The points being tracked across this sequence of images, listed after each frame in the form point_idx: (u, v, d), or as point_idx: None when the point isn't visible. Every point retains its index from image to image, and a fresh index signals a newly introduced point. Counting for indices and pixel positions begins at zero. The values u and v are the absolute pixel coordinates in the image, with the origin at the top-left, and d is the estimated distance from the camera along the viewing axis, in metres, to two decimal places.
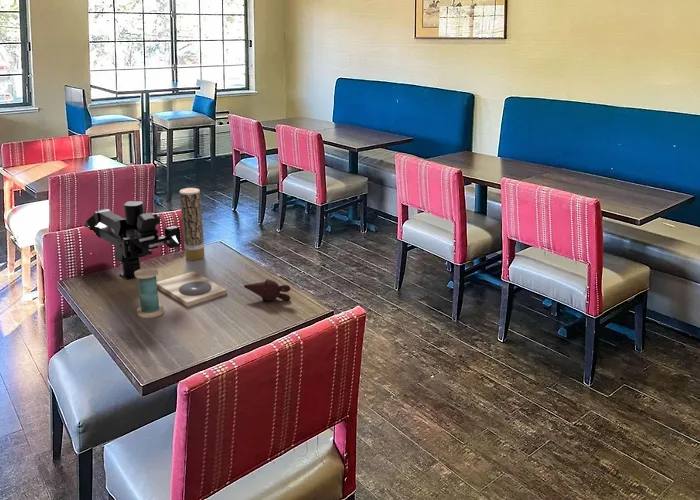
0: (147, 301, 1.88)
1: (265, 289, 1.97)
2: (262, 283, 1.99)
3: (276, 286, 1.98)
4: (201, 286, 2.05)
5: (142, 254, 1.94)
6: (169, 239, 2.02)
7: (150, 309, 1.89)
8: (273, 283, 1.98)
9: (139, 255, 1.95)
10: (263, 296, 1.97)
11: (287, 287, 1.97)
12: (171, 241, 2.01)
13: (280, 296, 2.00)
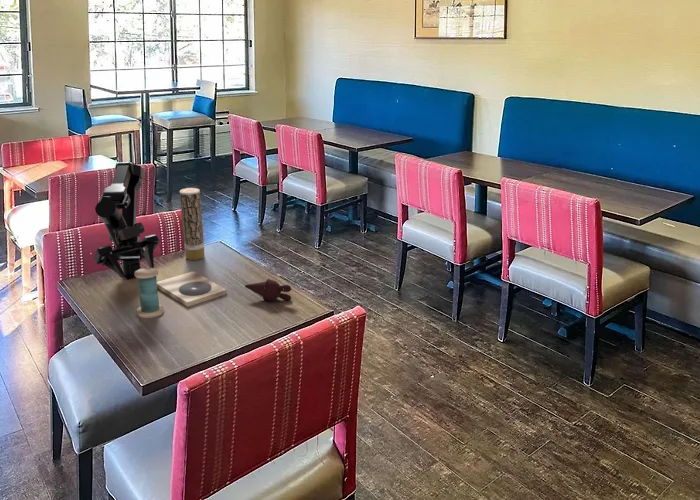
0: (147, 301, 1.88)
1: (266, 289, 1.97)
2: (263, 283, 1.99)
3: (277, 286, 1.98)
4: (201, 286, 2.05)
5: (114, 270, 1.89)
6: (145, 250, 1.96)
7: (150, 309, 1.89)
8: (274, 283, 1.98)
9: (110, 267, 1.89)
10: (264, 296, 1.97)
11: (288, 287, 1.97)
12: (146, 254, 1.95)
13: (281, 296, 2.00)
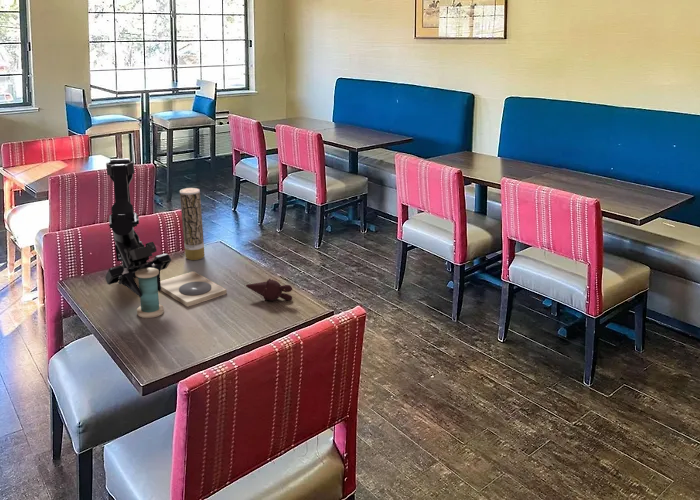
0: (147, 300, 1.88)
1: (267, 289, 1.97)
2: (264, 283, 1.99)
3: (278, 286, 1.98)
4: (201, 286, 2.05)
5: (131, 289, 1.87)
6: None
7: (150, 309, 1.89)
8: (275, 283, 1.98)
9: (127, 286, 1.88)
10: (265, 296, 1.97)
11: (289, 287, 1.97)
12: None
13: (282, 296, 2.00)
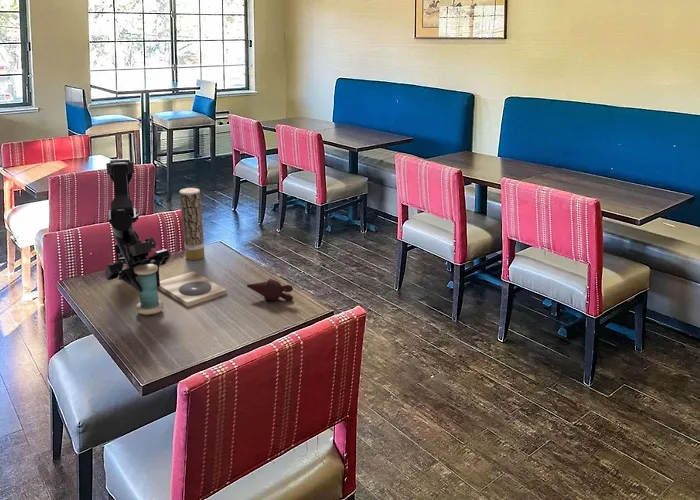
0: (146, 297, 1.87)
1: (267, 289, 1.97)
2: (265, 283, 1.99)
3: (279, 286, 1.98)
4: (201, 286, 2.05)
5: (131, 284, 1.87)
6: None
7: (150, 305, 1.88)
8: (276, 283, 1.98)
9: (127, 282, 1.87)
10: (265, 296, 1.97)
11: (289, 287, 1.97)
12: None
13: (283, 296, 2.00)
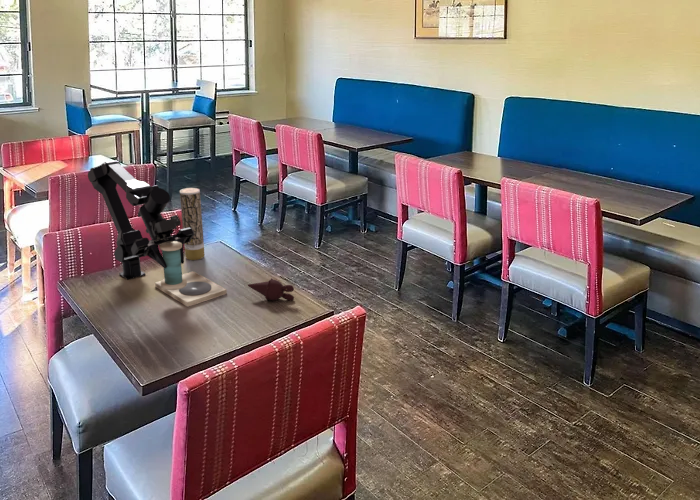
0: (170, 273, 1.93)
1: (269, 289, 1.97)
2: (266, 283, 1.99)
3: (280, 286, 1.98)
4: (201, 286, 2.05)
5: (156, 260, 1.93)
6: None
7: (173, 281, 1.94)
8: (277, 283, 1.98)
9: (153, 258, 1.93)
10: (266, 296, 1.98)
11: (290, 287, 1.97)
12: None
13: (284, 296, 2.00)
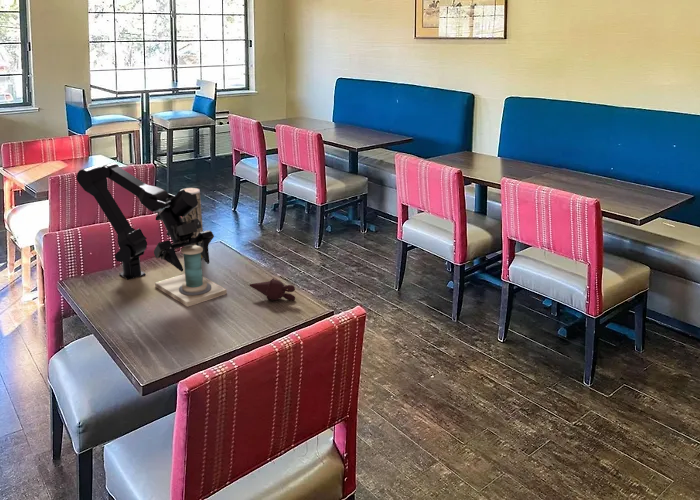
0: (192, 276, 2.00)
1: (270, 288, 1.97)
2: (267, 282, 1.99)
3: (281, 286, 1.98)
4: None
5: (173, 264, 1.98)
6: (201, 245, 2.05)
7: (195, 284, 2.01)
8: (278, 283, 1.98)
9: (169, 262, 1.99)
10: (268, 295, 1.98)
11: (292, 287, 1.97)
12: None
13: (285, 296, 2.00)
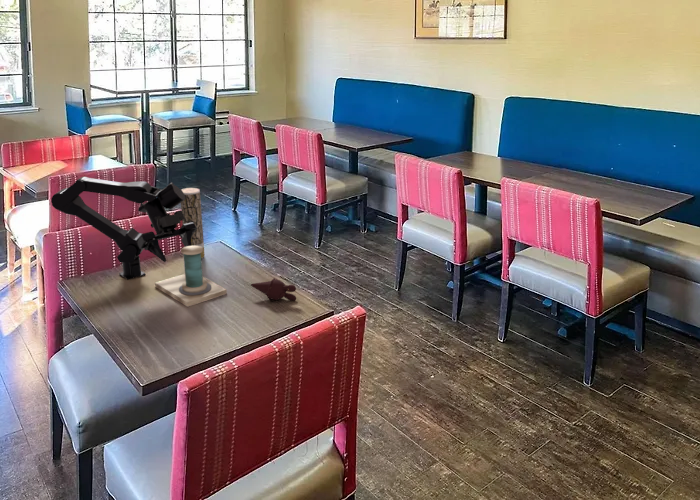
0: (192, 276, 2.00)
1: (271, 288, 1.97)
2: (268, 282, 1.99)
3: (282, 286, 1.98)
4: None
5: (156, 254, 2.03)
6: (184, 236, 2.10)
7: (195, 284, 2.01)
8: (279, 283, 1.98)
9: (153, 252, 2.04)
10: (269, 295, 1.98)
11: (293, 287, 1.97)
12: (185, 240, 2.10)
13: (286, 296, 2.00)
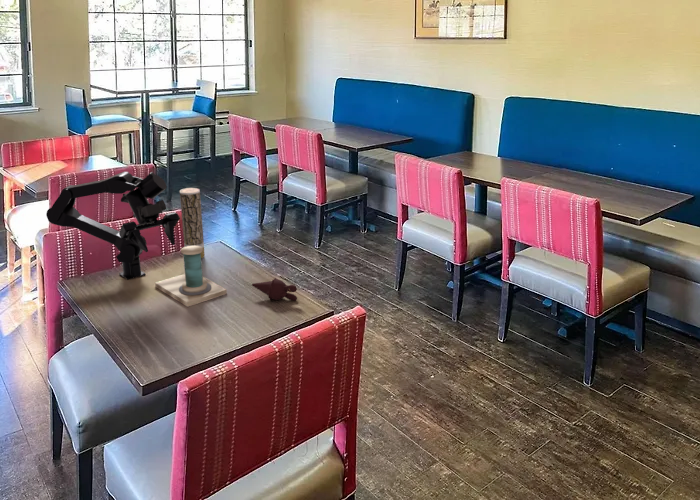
0: (192, 276, 2.00)
1: (272, 288, 1.97)
2: (269, 282, 1.99)
3: (283, 286, 1.98)
4: None
5: (138, 245, 2.02)
6: (166, 227, 2.09)
7: (195, 284, 2.01)
8: (280, 283, 1.99)
9: (134, 242, 2.02)
10: (270, 295, 1.98)
11: (293, 287, 1.97)
12: (167, 231, 2.08)
13: (287, 296, 2.00)
